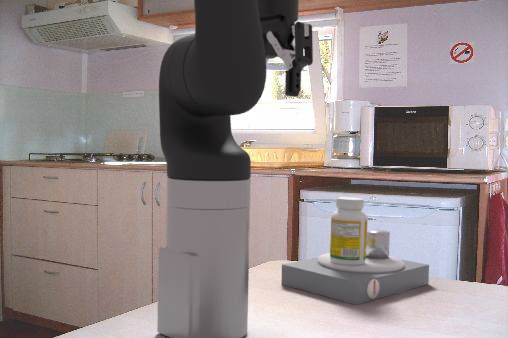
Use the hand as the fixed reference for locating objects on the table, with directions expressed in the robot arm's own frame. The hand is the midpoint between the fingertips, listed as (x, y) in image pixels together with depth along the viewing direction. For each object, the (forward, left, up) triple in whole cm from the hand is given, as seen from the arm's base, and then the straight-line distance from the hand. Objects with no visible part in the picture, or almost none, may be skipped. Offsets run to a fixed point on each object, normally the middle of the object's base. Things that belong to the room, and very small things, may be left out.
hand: (271, 97), depth 88 cm
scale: (+9, -10, -28) cm, 31 cm away
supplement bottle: (+7, -10, -25) cm, 27 cm away
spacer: (+14, -10, -24) cm, 30 cm away
